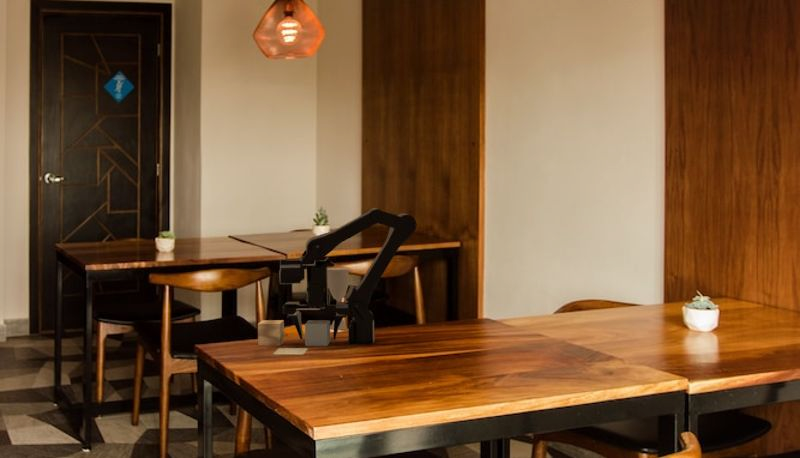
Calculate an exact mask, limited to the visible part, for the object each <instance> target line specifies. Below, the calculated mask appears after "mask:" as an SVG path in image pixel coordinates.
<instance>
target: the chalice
mask: <svg viewBox="0 0 800 458" xmlns="http://www.w3.org/2000/svg"><path fill="white" fill-rule="evenodd" d="M350 270H351V268H349V267H327V280H328V291H330V292H329V293H330V295H331V296H332V297H333V299H334V300H336V304H337V303H338V302H341V300H343V299H344V296H345V295H346V294H347V292H348V288H349V271H350ZM345 322H346V321H345V320H343V319H342V321H341V323H340V326H339V329H338V331H339V330H348V327H347V325H346V323H345ZM330 330H334V320H333V321H332V324H331V325H330Z"/></svg>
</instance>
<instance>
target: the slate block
mask: <svg viewBox="0 0 800 458" xmlns="http://www.w3.org/2000/svg"><path fill="white" fill-rule="evenodd" d="M330 328H331V320H327V319H326V320H320V319H318V320H315V319H314V320H311V319H310V320H307V322H306V323H305V324H304V343H305V345H304V346H305V347H328V345H330V343H331V329H330Z"/></svg>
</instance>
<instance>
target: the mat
mask: <svg viewBox="0 0 800 458" xmlns="http://www.w3.org/2000/svg"><path fill="white" fill-rule="evenodd" d="M308 350H309V347H308V348H305V347H304V348H303V347H299V348H298V347H297V348H295V347H278V348H277V349H276V351H275V350H274V352H273V353H272V355H275V356H276V355H282V356H283V355H285V356H286V355H288V356H289V355H291V356H294V355H295V356H296V355H297V356H301V355H305V353H306V352H308Z"/></svg>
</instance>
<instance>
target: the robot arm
mask: <svg viewBox="0 0 800 458" xmlns="http://www.w3.org/2000/svg"><path fill="white" fill-rule="evenodd" d="M376 224H380V225H383V226H385V227H388V228H389V230H388V233H387V237H386V240H385V242H384V243H383V245H382V247H381V248H380V250H379V251H378V254H376V256H375V257H374V260H373V261H372V263H371V264H370V266H369V267H368V270H367V271H366V273H365V274H364V276H363V278H362V279H361V281H360V282H359V283H358V284H357V285H356V286H353V285H352V284H351V285H350V286H349V287H348V288H349V289H347V292H346V293H345V295H344V297H343V299H344V300H343V301H340V302H338V303H337V302H336V304H331V292H329V287H328V272H327V268H335V263H334V262H332V261H331V259H330V258H329V257H326V256H328V254H330V253H331V252H332V251H333V250H335V248H337V247H338V246H339V245H340V244H342V243H343V242H345V241H347V240H349V239H351V238H352V237H354V236H357V234H359V233H362V232H363V231H365V230H367V229H369V228H370V227H372V226H374V225H376ZM417 226H418V225H417V221H416V219H415V217H413V216H412V215H410V214H407V213H399V214H394V213H391V212H387V211H383V210H381V209H379V208H375V207H373V208H371V209H369V210H368V211H367V212H365V213H363V214H360V215H359V216H358V217H356V218H354V219H352V220H350V221H348V222H347V223H345V224H343V225H341V226H340V227H338V228H336V229H334V230H332V231H328V232H324V233H321V234H319V235H316V236H313V237H310V238H308V239H307V241H306V243H305V249H304V251H303V253H302V254H301V255H300V257H299V258H298V259H286V258H280V260H279V271H278V273H279V274H278V275H279V276H278V277H279V285H292V284H293V285H297V284H298V285H299V284H300V285H301V282H302V281H305V268H306V289H305V291H304V292H305V293H304V300H305V301H306V304H301V303H300V301H287V302H285V303H284V304H283V305H282V307H281V310H282V311H281V314H282V315H286V317H287V318H288V319H289V318H290V319H291V322H292V323H293V325H294V327H295V329H296V331H297V335H298V337H299V339H300V340H303V339H304V338H303V335H304V334H303V333H304V332H303V324H302V312H308V313H309V312H311V313H313V312H314V313H315V312H318V313H319V312H325V313H326V312H331V313H332V312H335V313H336V314H335V315H334V320H333V321H334V329H333V334H332V335H333V336H332V337H333V340H336V338H337V335H338V332H339V330H338V329H339V326H340V323H341V321H342V320H343V319H346V317H347V316H348V315H349V316H350V317H351V320H350V321H349V322H350V323H349V326H348V327H347V333H348V342H349V345H374V343H375V342H376V338H375V320H374V319H375V317H376V316H375V314H373V312H372V311H371V310H370V309H369V308H368V307H369V304H370V301H371V298H372V295H373V291H374V289H375V288H376V286H377V284H378V282H380V279H381V278H382V276H383V274H384V273H385V271H386V270H387V268H388V267H389V265H390V263H391V262H392V260H393V258H394V256H395V255H396V253H397V252H398V251H399V248H401V246H403V244H404V243H406V241H407V240H409V238H411V236H412V235H413V234H414V233H415V231H416V229H417ZM325 257H326V258H325ZM324 258H325V259H324ZM322 259H323V260H322ZM313 261H314V262H313ZM312 262H313V263H312Z"/></svg>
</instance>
